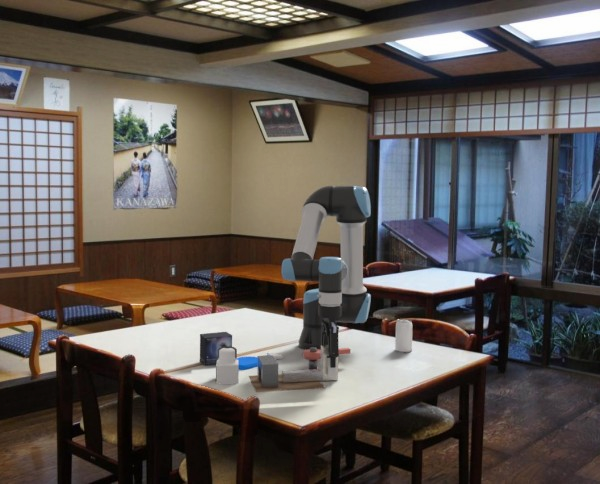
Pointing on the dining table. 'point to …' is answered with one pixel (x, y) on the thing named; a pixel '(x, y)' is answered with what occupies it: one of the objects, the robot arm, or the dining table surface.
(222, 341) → the small box
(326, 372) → the l-shaped bracket
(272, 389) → the walnut board
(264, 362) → the grey block
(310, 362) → the post
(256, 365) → the spray bottle
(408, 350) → the can
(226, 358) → the medicine bottle
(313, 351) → the red t-shaped bar
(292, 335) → the dining table surface
